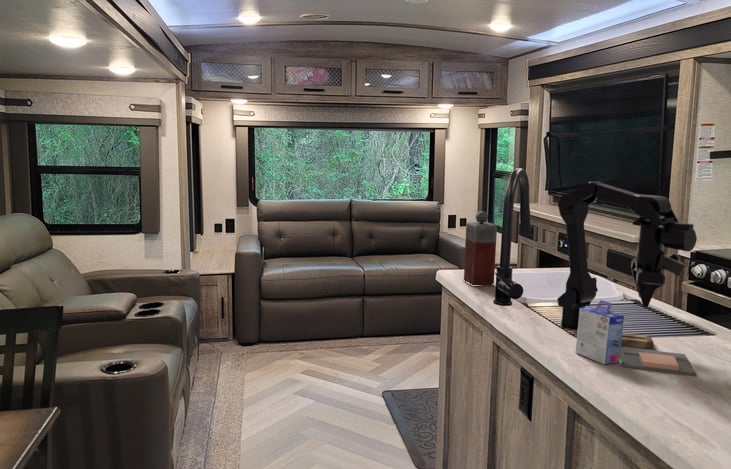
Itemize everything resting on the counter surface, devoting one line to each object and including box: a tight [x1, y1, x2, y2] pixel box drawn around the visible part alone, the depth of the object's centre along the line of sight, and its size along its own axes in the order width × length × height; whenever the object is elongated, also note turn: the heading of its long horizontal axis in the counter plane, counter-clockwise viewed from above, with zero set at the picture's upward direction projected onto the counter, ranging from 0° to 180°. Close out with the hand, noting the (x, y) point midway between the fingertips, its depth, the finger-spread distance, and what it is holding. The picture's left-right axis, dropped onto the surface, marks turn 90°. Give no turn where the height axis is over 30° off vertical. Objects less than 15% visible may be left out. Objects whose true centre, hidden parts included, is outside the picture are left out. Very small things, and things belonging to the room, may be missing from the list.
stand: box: [621, 332, 654, 350], centre depth 163 cm, size 12×6×2 cm, turn 72°
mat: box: [620, 346, 698, 377], centre depth 149 cm, size 16×14×1 cm
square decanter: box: [463, 210, 498, 285], centre depth 229 cm, size 9×11×28 cm
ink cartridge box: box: [575, 299, 625, 365], centre depth 150 cm, size 10×6×14 cm, turn 28°
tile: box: [638, 352, 679, 371], centre depth 146 cm, size 8×1×7 cm
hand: (643, 302), depth 158 cm, fingers open, 9 cm apart
